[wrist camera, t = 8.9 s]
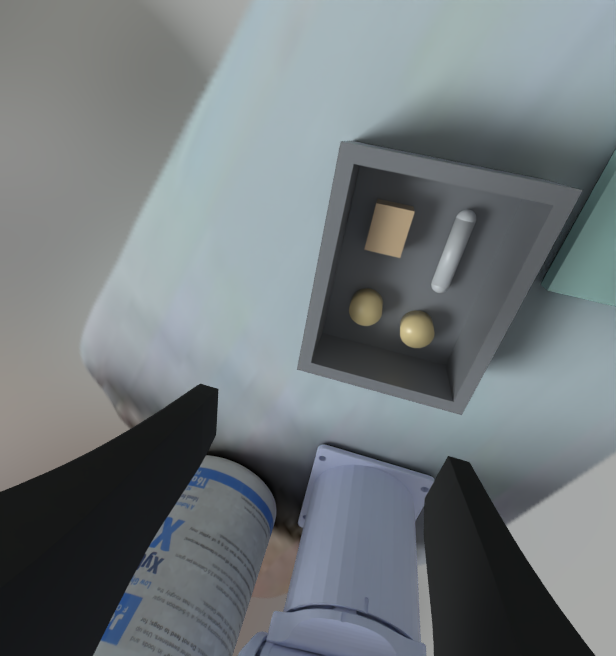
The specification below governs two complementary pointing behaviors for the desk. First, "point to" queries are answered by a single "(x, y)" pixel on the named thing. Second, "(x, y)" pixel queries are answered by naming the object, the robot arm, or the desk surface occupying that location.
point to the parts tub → (424, 271)
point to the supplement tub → (197, 569)
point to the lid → (590, 247)
